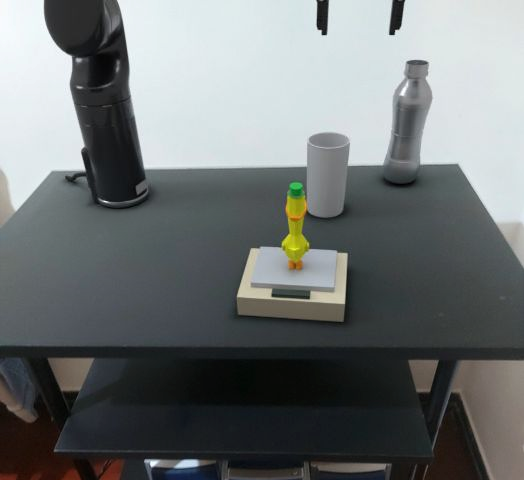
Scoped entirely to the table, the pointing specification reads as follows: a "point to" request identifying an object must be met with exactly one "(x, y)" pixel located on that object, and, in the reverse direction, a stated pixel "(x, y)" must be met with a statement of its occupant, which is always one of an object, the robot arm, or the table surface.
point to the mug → (327, 173)
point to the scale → (294, 285)
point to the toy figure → (295, 226)
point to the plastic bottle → (408, 123)
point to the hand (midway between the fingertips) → (357, 34)
